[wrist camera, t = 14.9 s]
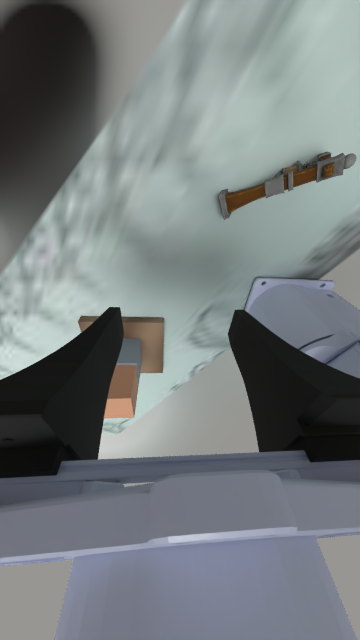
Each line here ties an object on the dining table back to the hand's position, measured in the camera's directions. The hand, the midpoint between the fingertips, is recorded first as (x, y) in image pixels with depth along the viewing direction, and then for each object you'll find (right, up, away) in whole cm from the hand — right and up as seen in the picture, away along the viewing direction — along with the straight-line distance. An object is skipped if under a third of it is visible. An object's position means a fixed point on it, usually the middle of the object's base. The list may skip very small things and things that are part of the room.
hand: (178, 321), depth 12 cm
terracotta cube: (-7, -7, +10) cm, 14 cm away
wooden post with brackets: (+7, +12, +4) cm, 14 cm away
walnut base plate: (-7, -3, +14) cm, 16 cm away
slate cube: (-7, -4, +13) cm, 16 cm away
